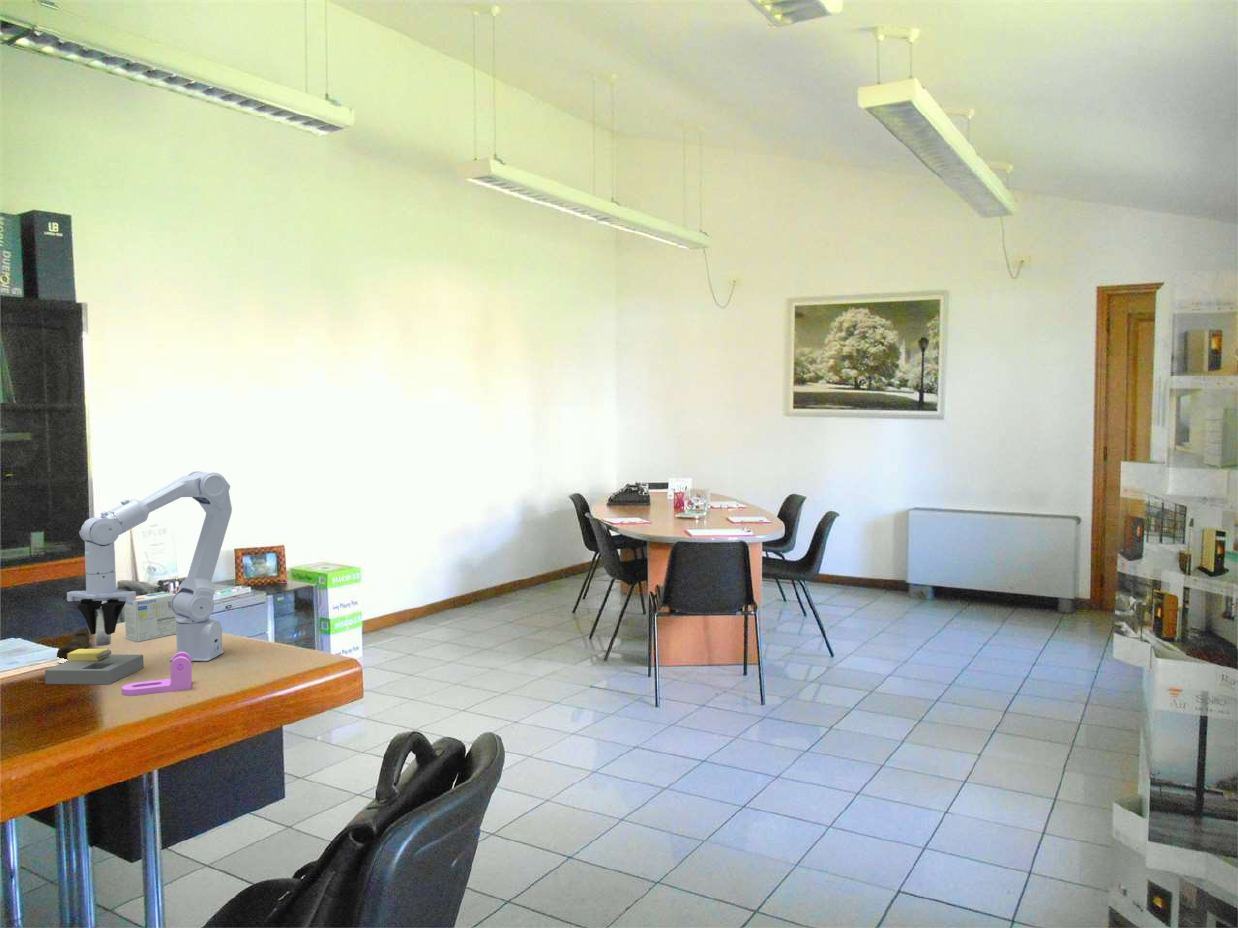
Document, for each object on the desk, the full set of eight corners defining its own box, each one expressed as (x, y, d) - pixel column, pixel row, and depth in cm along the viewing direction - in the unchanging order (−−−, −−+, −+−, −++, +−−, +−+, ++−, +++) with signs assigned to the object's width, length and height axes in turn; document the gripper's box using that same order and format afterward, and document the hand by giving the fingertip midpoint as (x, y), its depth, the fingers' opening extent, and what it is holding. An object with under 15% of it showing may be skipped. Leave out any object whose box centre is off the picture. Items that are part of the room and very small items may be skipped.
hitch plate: (143, 667, 207) (143, 654, 207) (108, 684, 194) (108, 670, 194) (84, 667, 208) (83, 654, 207) (45, 683, 195) (44, 670, 194)
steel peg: (114, 642, 202) (113, 606, 201) (105, 645, 199) (105, 609, 198) (100, 642, 202) (100, 606, 201) (92, 645, 199) (91, 609, 198)
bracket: (191, 682, 195) (190, 650, 195) (190, 689, 190) (189, 656, 190) (123, 690, 190) (122, 657, 190) (120, 697, 185) (119, 664, 185)
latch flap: (111, 655, 206) (111, 648, 205) (100, 660, 202) (100, 653, 201) (79, 655, 206) (78, 648, 206) (67, 660, 202) (67, 653, 202)
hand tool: (75, 663, 212) (75, 643, 211) (56, 664, 211) (55, 645, 210) (99, 644, 230) (98, 625, 230) (81, 645, 229) (81, 627, 229)
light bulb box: (165, 630, 243) (163, 590, 242) (178, 633, 239) (177, 593, 238) (124, 638, 234) (122, 597, 234) (137, 642, 230) (135, 600, 230)
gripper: (56, 575, 196) (58, 637, 196) (121, 575, 195) (123, 638, 195) (78, 569, 203) (80, 629, 203) (140, 570, 202) (142, 630, 202)
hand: (102, 633), depth 200 cm, fingers closed on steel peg, 3 cm apart
